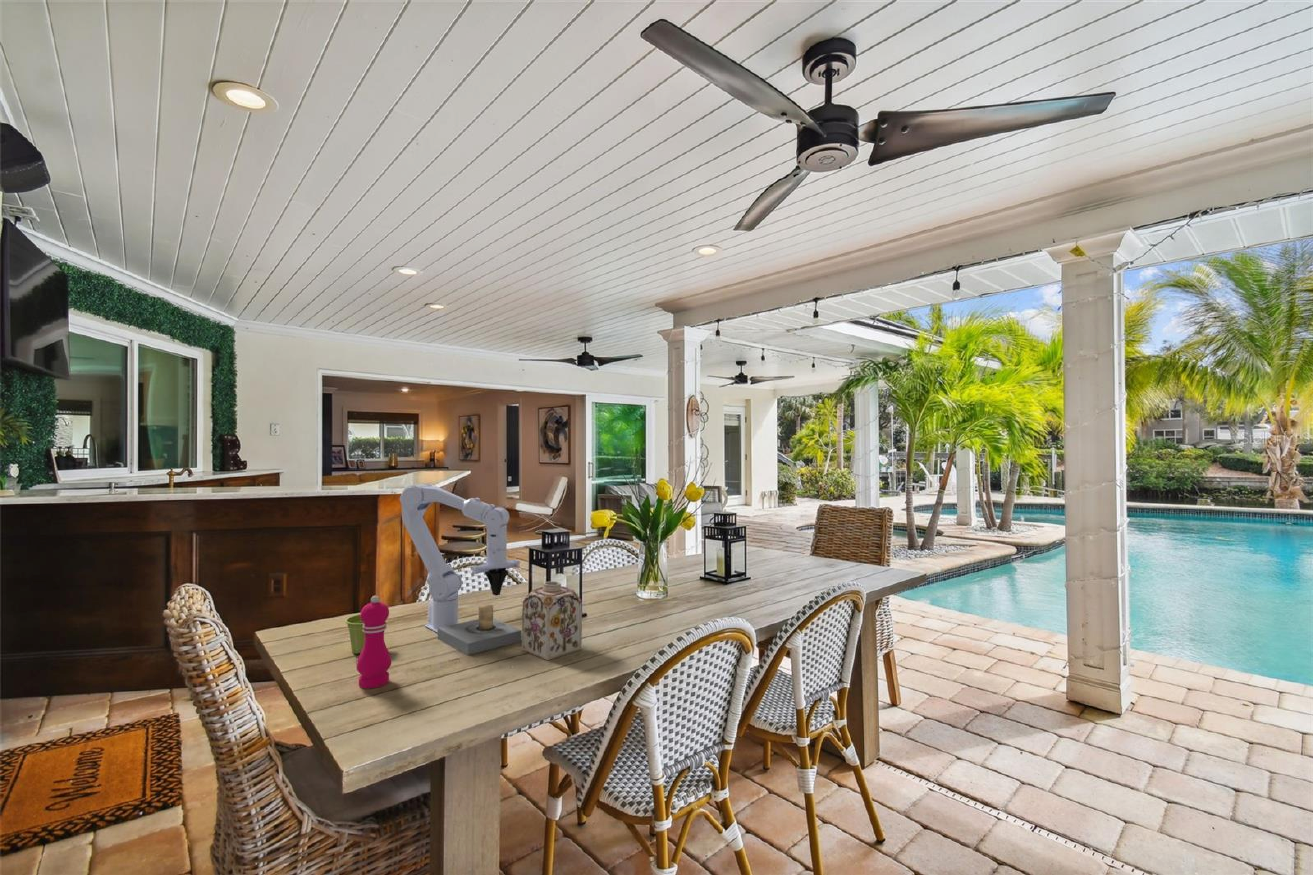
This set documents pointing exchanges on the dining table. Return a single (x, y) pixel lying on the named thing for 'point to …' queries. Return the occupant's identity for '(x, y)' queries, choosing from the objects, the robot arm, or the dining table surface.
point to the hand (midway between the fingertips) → (496, 594)
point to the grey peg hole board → (478, 636)
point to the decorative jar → (552, 621)
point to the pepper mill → (374, 646)
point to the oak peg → (485, 618)
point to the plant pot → (356, 633)
